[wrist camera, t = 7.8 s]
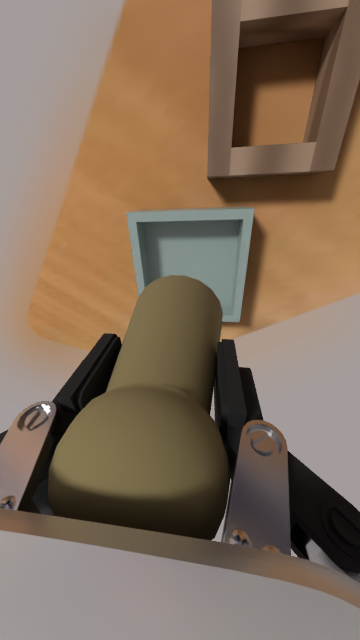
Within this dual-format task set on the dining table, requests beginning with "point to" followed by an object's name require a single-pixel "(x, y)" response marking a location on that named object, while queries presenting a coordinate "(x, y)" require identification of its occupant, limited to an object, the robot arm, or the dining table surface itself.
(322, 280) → the dining table surface
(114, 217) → the dining table surface
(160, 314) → the cork
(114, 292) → the dining table surface
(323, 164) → the socket
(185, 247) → the tray
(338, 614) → the robot arm
